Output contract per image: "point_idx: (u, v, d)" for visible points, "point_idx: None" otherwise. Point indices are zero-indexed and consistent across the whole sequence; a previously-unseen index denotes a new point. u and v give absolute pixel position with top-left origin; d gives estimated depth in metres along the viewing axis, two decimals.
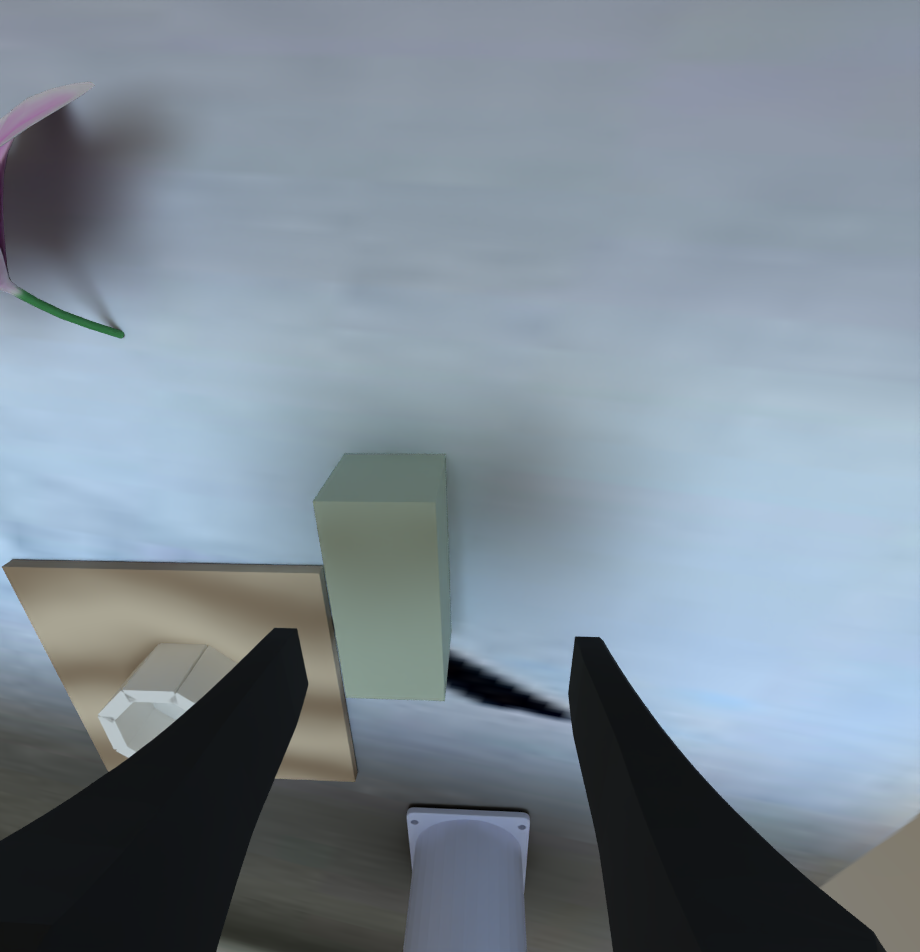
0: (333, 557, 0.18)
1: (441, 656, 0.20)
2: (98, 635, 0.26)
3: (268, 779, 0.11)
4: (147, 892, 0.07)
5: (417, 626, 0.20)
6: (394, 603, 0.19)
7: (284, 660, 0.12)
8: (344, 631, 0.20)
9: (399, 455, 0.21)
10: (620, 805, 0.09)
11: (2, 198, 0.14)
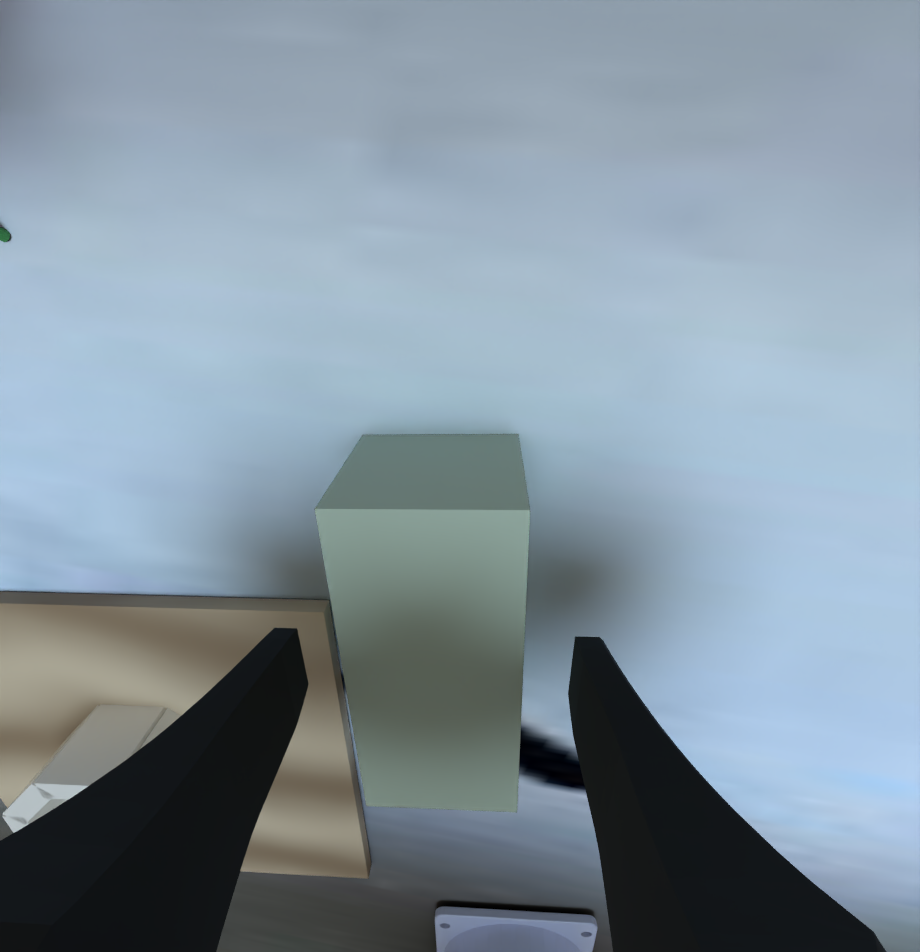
0: (349, 602, 0.11)
1: (517, 751, 0.13)
2: (13, 693, 0.19)
3: (268, 779, 0.11)
4: (148, 892, 0.07)
5: (483, 707, 0.12)
6: (446, 673, 0.12)
7: (284, 660, 0.12)
8: (366, 714, 0.13)
9: (447, 436, 0.14)
10: (620, 805, 0.09)
11: None
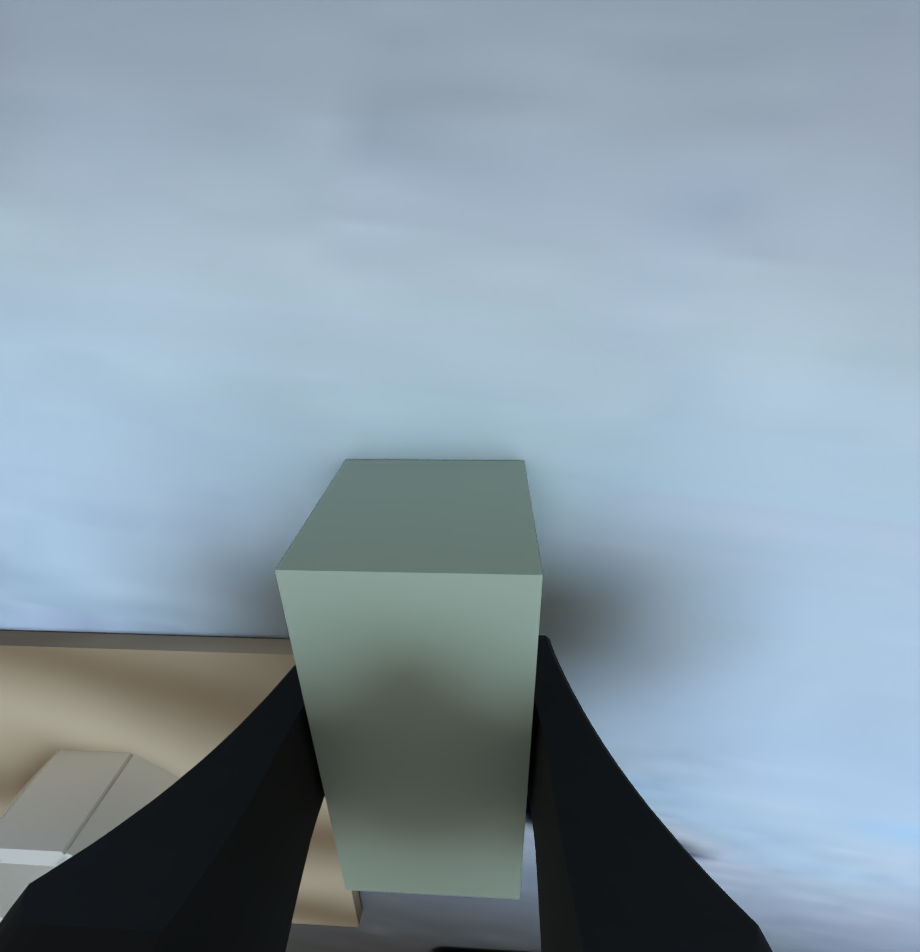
0: (320, 676, 0.09)
1: (521, 838, 0.11)
2: None
3: None
4: (233, 897, 0.07)
5: (481, 792, 0.10)
6: (439, 755, 0.10)
7: None
8: (343, 796, 0.11)
9: (442, 466, 0.12)
10: (545, 801, 0.09)
11: None
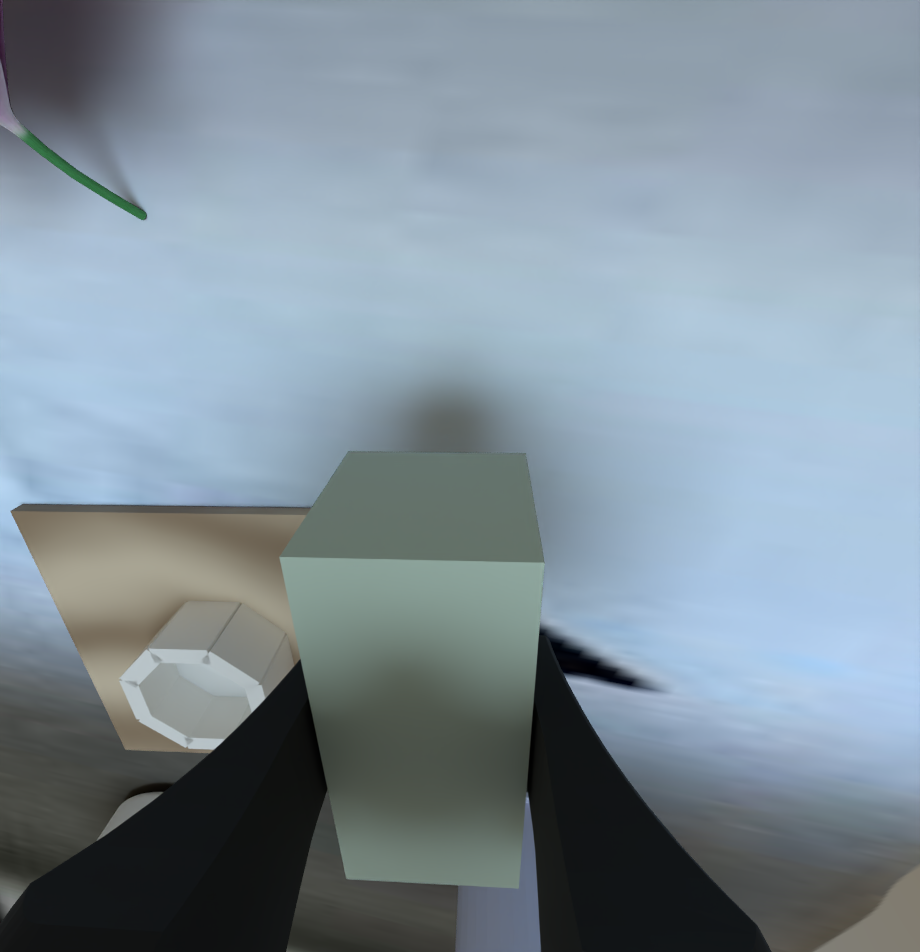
0: (323, 663, 0.09)
1: (521, 826, 0.11)
2: (118, 591, 0.23)
3: (325, 782, 0.11)
4: (234, 897, 0.07)
5: (482, 780, 0.10)
6: (440, 743, 0.10)
7: None
8: (344, 784, 0.11)
9: (444, 458, 0.12)
10: (544, 801, 0.09)
11: None
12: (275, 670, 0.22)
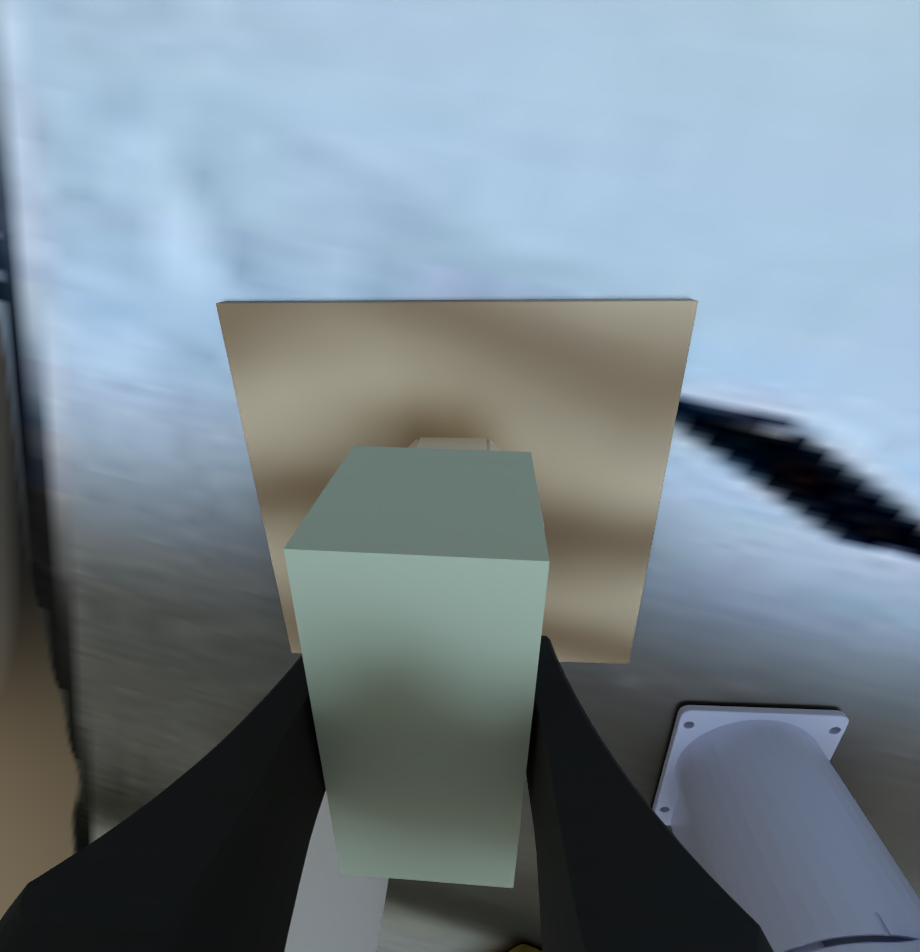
0: (324, 657, 0.09)
1: (517, 826, 0.11)
2: (332, 425, 0.18)
3: (324, 782, 0.11)
4: (232, 897, 0.07)
5: (479, 778, 0.10)
6: (439, 739, 0.10)
7: None
8: (342, 779, 0.11)
9: (449, 455, 0.12)
10: (546, 802, 0.09)
11: None
12: None
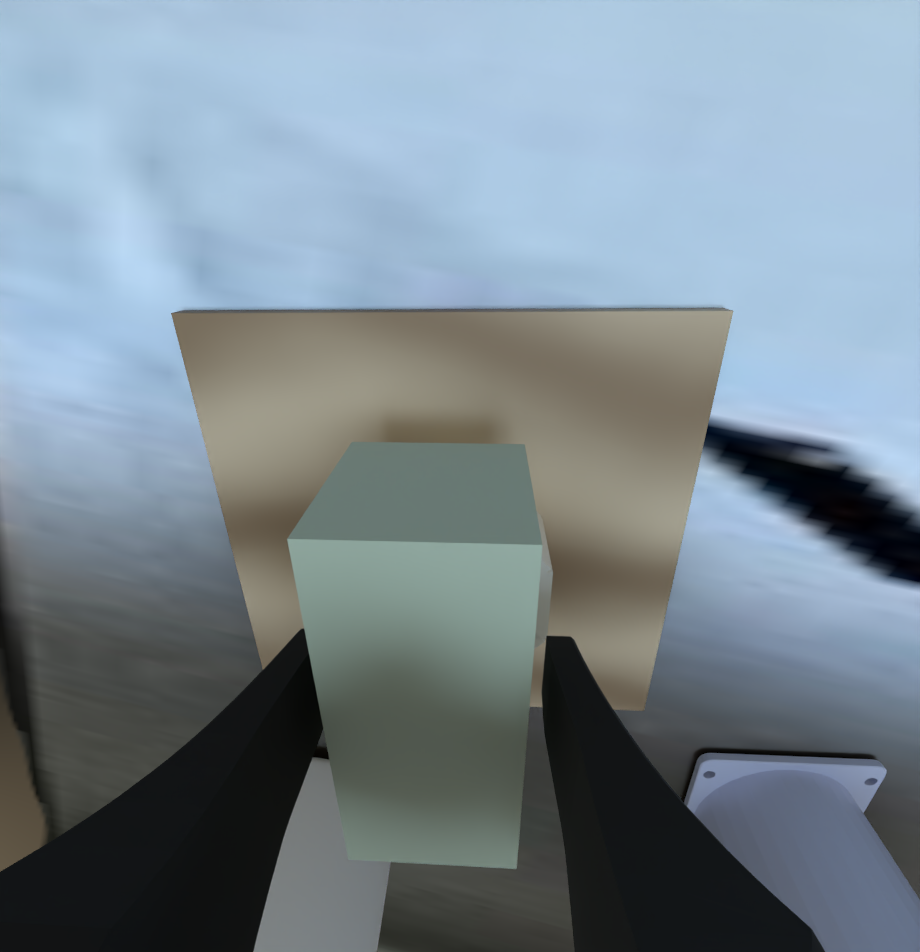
0: (328, 644, 0.10)
1: (519, 806, 0.11)
2: (309, 451, 0.16)
3: (298, 780, 0.11)
4: (193, 894, 0.07)
5: (481, 759, 0.11)
6: (441, 723, 0.10)
7: None
8: (347, 764, 0.11)
9: (445, 449, 0.12)
10: (580, 803, 0.09)
11: None
12: None
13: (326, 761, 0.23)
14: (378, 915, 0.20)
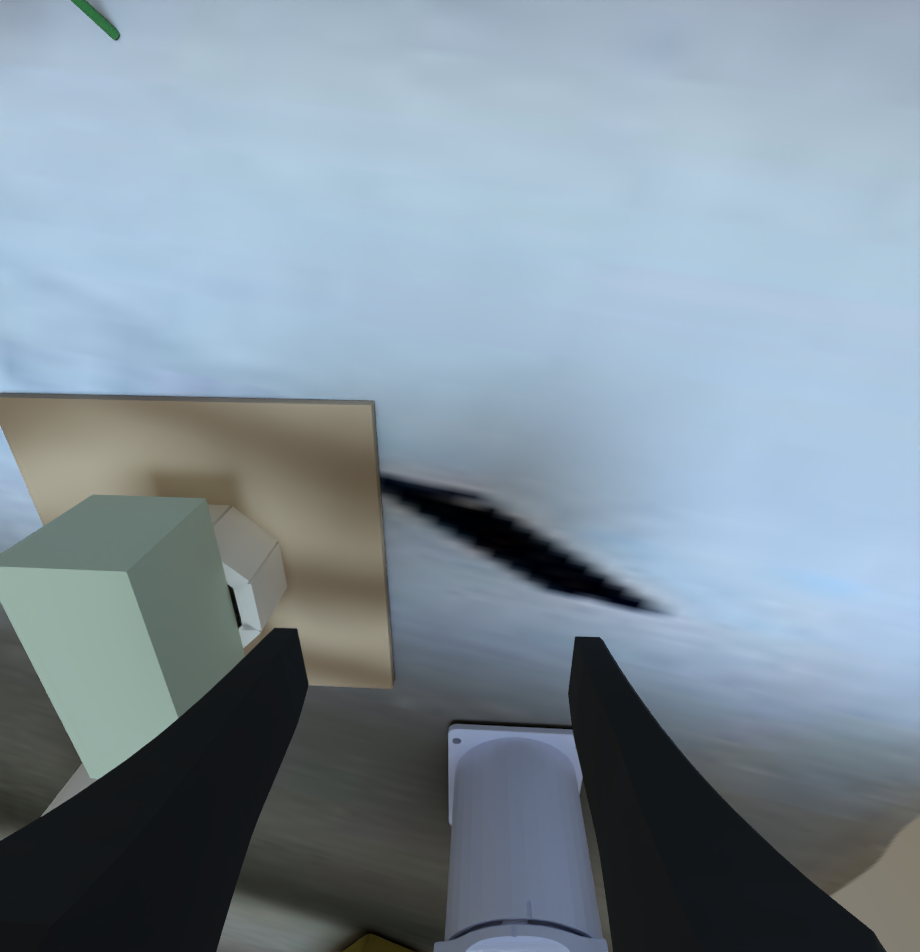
0: (27, 628, 0.16)
1: None
2: (102, 492, 0.22)
3: (268, 779, 0.11)
4: (148, 892, 0.07)
5: (147, 705, 0.17)
6: (112, 680, 0.16)
7: (284, 660, 0.12)
8: (66, 708, 0.17)
9: (149, 501, 0.18)
10: (620, 805, 0.09)
11: None
12: (266, 575, 0.21)
13: None
14: None
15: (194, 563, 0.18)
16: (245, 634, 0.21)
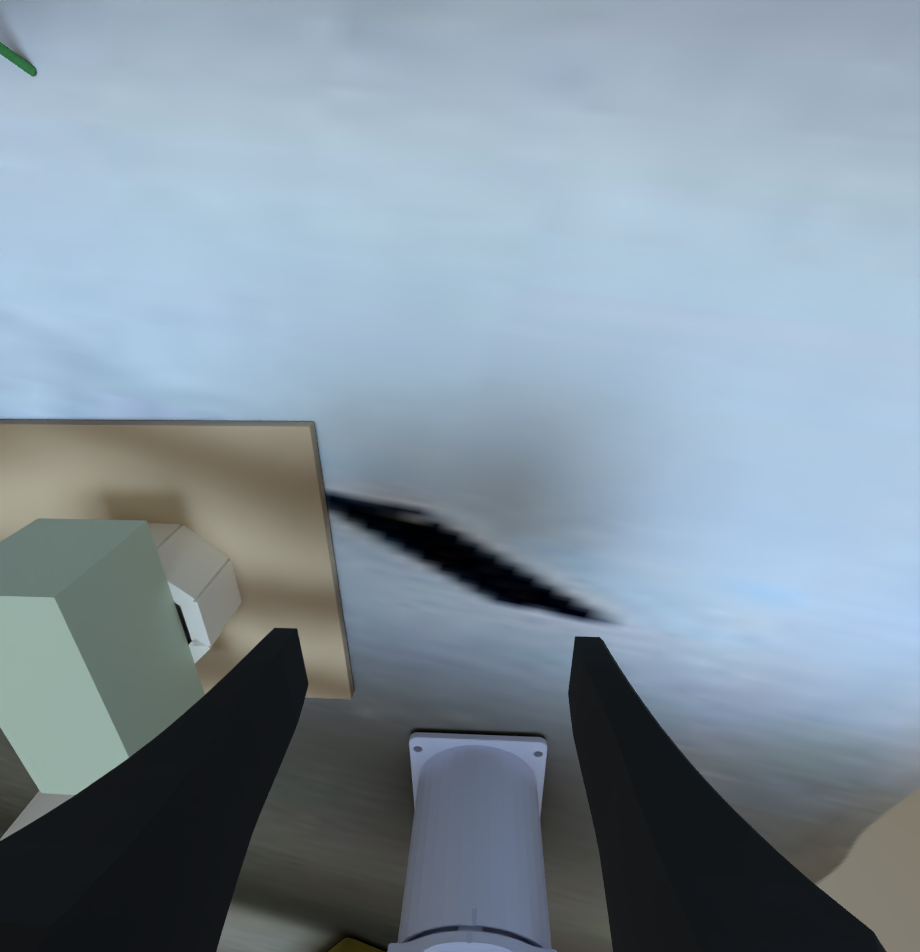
0: None
1: (126, 754, 0.18)
2: (56, 513, 0.23)
3: (268, 779, 0.11)
4: (148, 892, 0.07)
5: (87, 723, 0.17)
6: (52, 699, 0.17)
7: (284, 660, 0.12)
8: (10, 727, 0.18)
9: (91, 524, 0.19)
10: (620, 805, 0.09)
11: None
12: (215, 592, 0.22)
13: None
14: None
15: (134, 584, 0.18)
16: (195, 650, 0.22)
